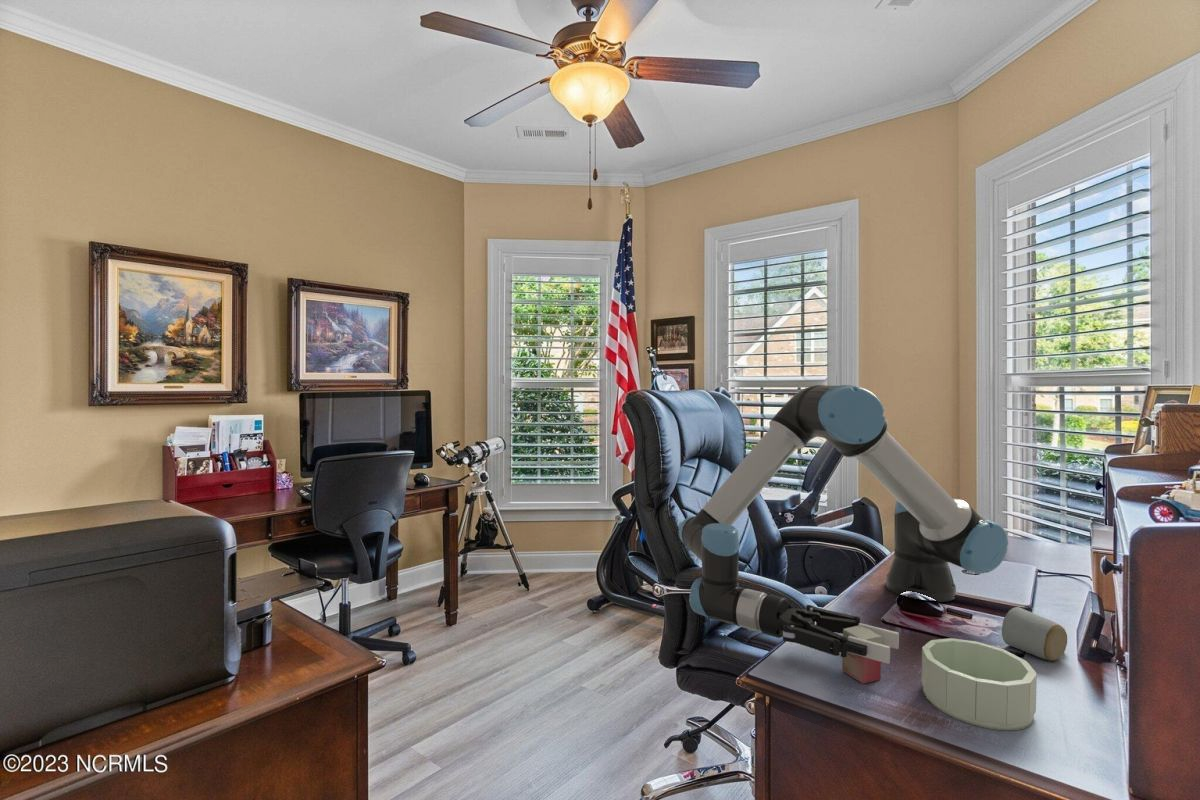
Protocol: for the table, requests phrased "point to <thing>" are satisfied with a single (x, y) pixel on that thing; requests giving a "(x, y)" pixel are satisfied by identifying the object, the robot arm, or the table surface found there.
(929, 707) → the table surface
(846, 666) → the small box
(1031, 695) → the sage bowl
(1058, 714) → the table surface
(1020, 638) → the ceramic mug
